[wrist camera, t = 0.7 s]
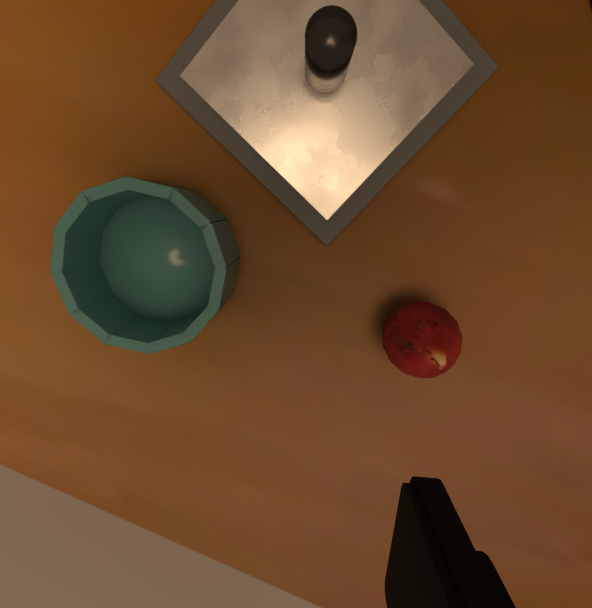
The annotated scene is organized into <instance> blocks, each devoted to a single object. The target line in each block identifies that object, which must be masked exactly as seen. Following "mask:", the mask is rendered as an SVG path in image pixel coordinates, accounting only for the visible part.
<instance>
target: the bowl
mask: <svg viewBox="0 0 592 608" xmlns="http://www.w3.org/2000/svg"><path fill="white" fill-rule="evenodd" d="M55 227H56V228H54V233H53V246H52V258H51V270H50V272H53V273H51V275H52V277H53V279H54V282H55V284H56V286H57V288H58V290H59V293H60V295H61V297H62V299H63V301H64V304H65V306H66V308H67V310H68V313H69V314H71V313H72V314H71V315H70V316H72V317H73V318H74V319H75V320H77V321H78V322H79V323H80V324H81V325H83V326H84V327H85V328H86V329H88V330H89V331H90V332H91V333H92V334H94V335H95V336H96V337H97V338H99V339H100V340H101V341H102V342H104V343H106V344H107V345H112V346H116V347H121V348H125V349H130V350H134V351H138V352H143V353H147V354H148V353H154V352H157V351H161V350H164V349H168V348H171V347H175V346H178V345H182V344H185V343H189V342H190V341H191V340H192V339H193V338H194V337H195V336H196V335H197V334H198V333H199V332H200V331H201V330H202V328H203V327H204V326H205V325H206V324H207V323H208V322H209V321H210V320H211V319H212V318H213V317H214V316H215V314H216V313H217V312H218V311H219V310H220V309H221V307H222V306H223V305H224V304H225V302H226V301H227V300H228V299H229V297H230V296H231V295H232V294H233V291H234V286H235V281H236V276H237V271H238V266H239V261H240V254H239V251H238V248H237V245H236V242H235V239H234V236H233V233H232V230H231V227H230V224H229V221H228V220H227V218H226V217H225V216H224V215H223V214H222V213H221V212H220V211H219V210H218V209H217V208H215V207H214V206H213V205H212V204H211V203H210V202H209V201H208V200H207V199H206V198H205V197H204V196H203V195H201V194H200V193H199V192H197V191H195V190H191V189H187V188H183V187H179V186H174V185H170V184H166V183H162V182H157V181H151V180H145V179H138V178H132V177H123V178H120V179H117V180H114V181H111V182H108V183H105V184H102V185H99V186H96V187H92V188H89V189H86V190H83V192H80V194H79V195H78V196H77V198H76V199H75V200H74V202H73V203H72V204H71V205H70V207H69V208H68V209H67V211H66V212H65V213H64V215H63V216H62V217H61V218H60V220H59V221H58V222H57V224H56V225H55Z"/></svg>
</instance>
